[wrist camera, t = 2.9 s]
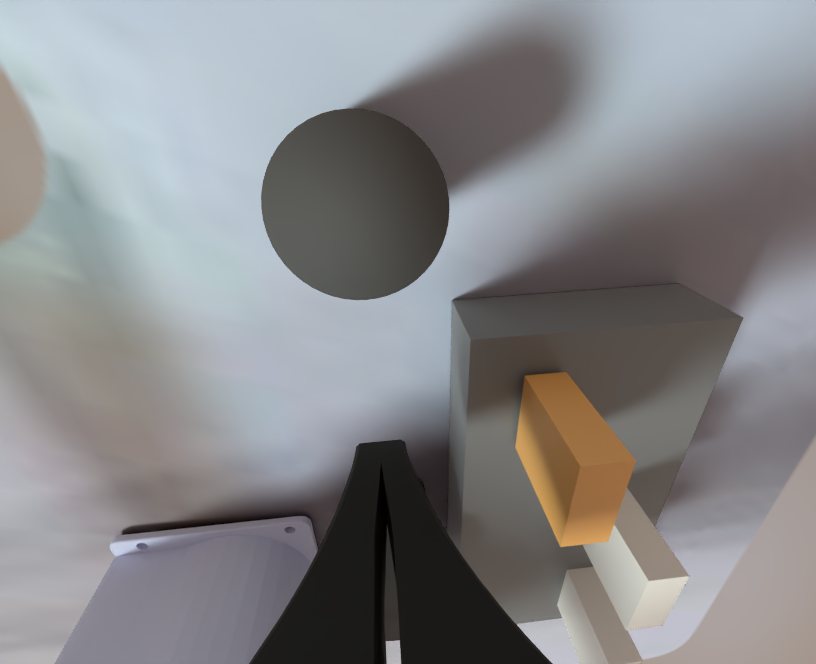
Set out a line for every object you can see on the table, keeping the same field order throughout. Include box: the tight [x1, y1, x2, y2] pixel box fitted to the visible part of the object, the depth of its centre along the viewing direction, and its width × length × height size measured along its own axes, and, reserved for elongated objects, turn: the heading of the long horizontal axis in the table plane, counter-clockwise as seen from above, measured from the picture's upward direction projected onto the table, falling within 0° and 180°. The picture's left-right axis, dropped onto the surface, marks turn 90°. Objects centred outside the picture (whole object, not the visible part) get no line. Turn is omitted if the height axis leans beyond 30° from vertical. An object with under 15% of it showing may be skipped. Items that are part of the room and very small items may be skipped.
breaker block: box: [447, 283, 743, 664], centre depth 16 cm, size 9×18×7 cm, turn 2°
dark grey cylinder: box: [261, 109, 449, 300], centre depth 10 cm, size 4×4×6 cm
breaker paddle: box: [515, 372, 636, 547], centre depth 12 cm, size 1×3×4 cm, turn 2°
